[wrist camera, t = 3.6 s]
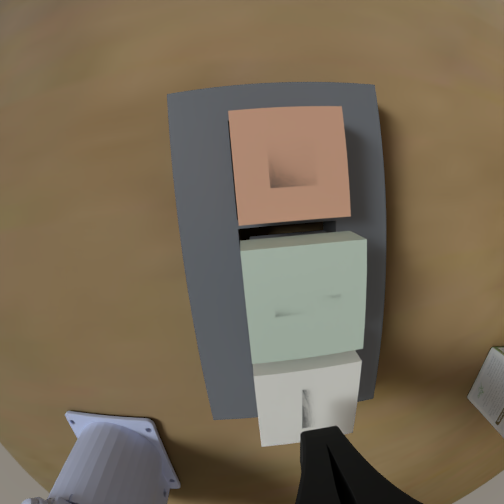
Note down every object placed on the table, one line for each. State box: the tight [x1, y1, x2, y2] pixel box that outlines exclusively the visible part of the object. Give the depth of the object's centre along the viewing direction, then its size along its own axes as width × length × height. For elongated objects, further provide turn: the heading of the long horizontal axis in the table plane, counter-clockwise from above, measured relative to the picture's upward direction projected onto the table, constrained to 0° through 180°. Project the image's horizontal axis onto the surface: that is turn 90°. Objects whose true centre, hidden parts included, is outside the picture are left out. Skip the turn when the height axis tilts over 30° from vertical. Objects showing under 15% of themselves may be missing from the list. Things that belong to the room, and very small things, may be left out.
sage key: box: [240, 230, 367, 364], centre depth 13 cm, size 4×4×5 cm
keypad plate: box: [167, 82, 386, 420], centre depth 16 cm, size 18×10×2 cm, turn 5°
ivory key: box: [253, 350, 362, 447], centre depth 14 cm, size 4×4×5 cm
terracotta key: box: [228, 106, 351, 226], centre depth 14 cm, size 4×4×5 cm
